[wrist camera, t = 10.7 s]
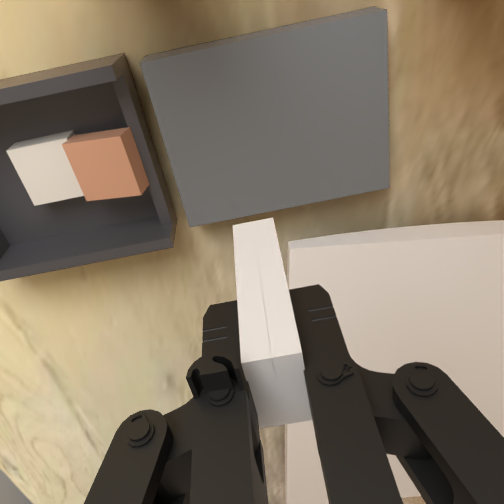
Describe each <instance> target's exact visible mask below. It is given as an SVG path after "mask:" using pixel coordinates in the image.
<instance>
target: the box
mask: <svg viewBox="0 0 504 504" xmlns="http://www.w3.org/2000/svg"><path fill="white" fill-rule="evenodd" d="M126 127H130V129H131V132H132V135H133V138H134V141H135V143H136V146H137V149H138V152H139V155H140V158H141V161H142V164H143V167H144V170H145V173H146V175H147V178H148V181H149V186H148V187H147V188H146V190H145V191H144V192H143V194H142V195H139V196H130V197H121V198H112V199H103V200H93V201H86V199H85V196H80V197H75V198H70V199H66V200H61V201H56V202H51V203H46V204H41V205H36V206H34V204H33V202H32V200H31V198H30V196H29V194H28V192H27V190H26V188H25V187H24V185H23V183H22V181H21V179H20V177H19V175H18V173H17V171H16V169H15V167H14V165H13V163H12V161H11V159H10V157H9V156H8V154H7V152H6V151H7V150H8V149H9V148H10V147H11V146H12V145H13V144H14V143H16V142H20V141H25V140H30V139H34V138H39V137H44V136H49V135H53V134H58V133H63V132H67V131H72V130H73V131H74V133H75V135H79V134H86V133H92V132H99V131H106V130H113V129H120V128H126ZM176 225H177V217H176V214H175V211H174V208H173V205H172V201H171V198H170V195H169V192H168V189H167V186H166V183H165V179H164V176H163V173H162V170H161V167H160V164H159V161H158V158H157V154H156V151H155V148H154V145H153V142H152V139H151V136H150V132H149V129H148V126H147V123H146V120H145V117H144V114H143V110H142V107H141V104H140V101H139V98H138V95H137V92H136V89H135V85H134V82H133V79H132V76H131V73H130V70H129V67H128V63H127V60H126V57H125V54H124V53H122V54H118V55H113V56H108V57H104V58H99V59H94V60H90V61H85V62H80V63H76V64H71V65H67V66H62V67H57V68H53V69H48V70H43V71H39V72H34V73H29V74H25V75H20V76H16V77H11V78H6V79H2V80H0V281H4V280H9V279H14V278H20V277H25V276H30V275H35V274H40V273H45V272H50V271H55V270H60V269H65V268H70V267H75V266H80V265H86V264H91V263H96V262H101V261H106V260H111V259H116V258H121V257H126V256H131V255H136V254H141V253H147V252H152V251H157V250H162V249H167V248H172V247H173V245H174V238H175V232H176Z"/></svg>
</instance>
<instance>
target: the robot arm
mask: <svg viewBox="0 0 504 504" xmlns="http://www.w3.org/2000/svg"><path fill="white" fill-rule="evenodd" d="M233 239H234V255H235V272H236V288H237V300H236V301H230V302H225V303H219V304H214V305H210V306H209V308H208V310H207V312H206V313H205V315H204V317H203V343H202V357H201V358H199V359H198V360H196V361H195V362H194V363H193V364H192V365H191V367H190V368H189V369H188V373H187V376H186V379H187V382H188V384H189V387H190V389H191V392H192V394H193V396H194V397H193V398H192V399H191V400H190V401H189V402H187V403H186V404H185V405H183V406H181V407H180V408H178V409H176V410H174V411H172V412H169V413H167V414H165V415H162V414H161V413H160V412H158V411H154V410H143V411H139V412H137V413H135V414H133V415H130V416H129V417H128V418H127V419H126V420H125V421H124V422H122V424H121V425H120V427H119V428H118V430H117V431H116V433H115V435H114V438H113V440H112V442H111V444H110V447H109V449H108V451H107V453H106V455H105V458H104V460H103V462H102V464H101V467H100V469H99V471H98V473H97V475H96V478H95V480H94V482H93V484H92V487H91V489H90V491H89V493H88V495H87V498H86V500H85V502H84V504H268V496H267V486H266V476H265V465H264V455H263V447H262V444H261V440H260V436H259V427H260V429H262V428H268V427H274V426H280V425H286V424H292V423H298V422H303V421H309V420H313V425H314V431H315V437H316V442H317V448H318V454H319V457H320V462H321V467H322V472H323V477H324V481H325V486H326V491H327V496H328V501H329V504H403V502H402V499H401V496H400V493H399V490H398V487H397V484H396V481H395V478H394V475H393V472H392V469H391V466H390V463H389V460H388V457H387V454H390V455H396V457H397V459H398V460H399V462H400V463H401V465H402V466H403V468H404V470H405V471H406V473H407V474H408V476H409V477H410V479H411V480H412V482H413V484H414V485H415V487H416V488H417V490H418V491H419V493H420V495H421V496H422V498H423V499H424V501H425V502H426V504H504V437H503V436H502V435H501V434H500V433H499V432H498V430H497V429H496V428H495V427H494V426H493V425H492V424H491V423H490V422H489V421H488V419H487V418H486V417H485V416H484V415H483V414H482V413H481V412H480V411H479V409H478V408H477V407H476V406H475V405H474V404H473V403H472V402H471V401H470V399H469V398H468V397H467V396H466V395H465V394H464V393H463V392H462V391H461V390H460V388H459V387H458V386H457V385H456V384H455V383H454V382H453V381H452V380H451V378H450V377H449V376H448V375H447V374H446V373H445V372H443V371H442V370H441V369H440V368H438V367H436V366H434V365H431V364H429V363H424V362H412V363H407V364H404V365H403V366H401V367H400V368H398V369H397V370H396V372H395V374H392V373H382V372H375V371H370V370H368V369H365V368H363V367H361V366H360V365H358V364H357V363H356V362H355V361H354V360H353V359H352V358H351V356H350V354H349V352H348V349H347V346H346V343H345V340H344V337H343V334H342V331H341V328H340V325H339V322H338V319H337V317H336V313H335V310H334V308H333V304H332V301H331V298H330V295H329V293H328V292H327V291H326V290H325V289H324V288H323V287H322V286H320V285H319V284H317V285H311V286H306V287H301V288H295V289H290V290H289V289H288V285H287V280H286V275H285V271H284V266H283V262H282V257H281V252H280V248H279V243H278V238H277V234H276V229H275V224H274V220H273V218H268V219H262V220H257V221H252V222H247V223H242V224H236V225H233Z"/></svg>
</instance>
